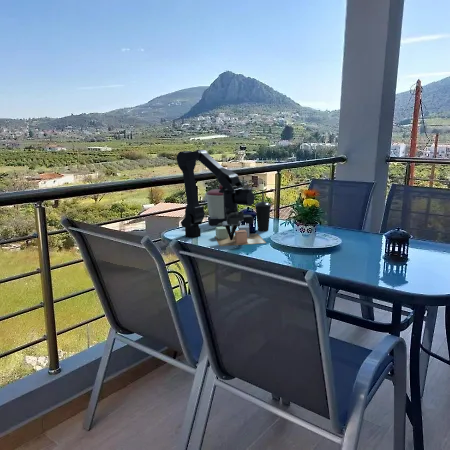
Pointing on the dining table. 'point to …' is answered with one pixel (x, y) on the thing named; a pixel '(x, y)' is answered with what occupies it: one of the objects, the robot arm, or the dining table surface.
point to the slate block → (244, 228)
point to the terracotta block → (241, 236)
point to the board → (250, 240)
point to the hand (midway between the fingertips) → (231, 239)
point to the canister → (215, 203)
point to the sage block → (221, 232)
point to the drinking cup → (263, 214)
